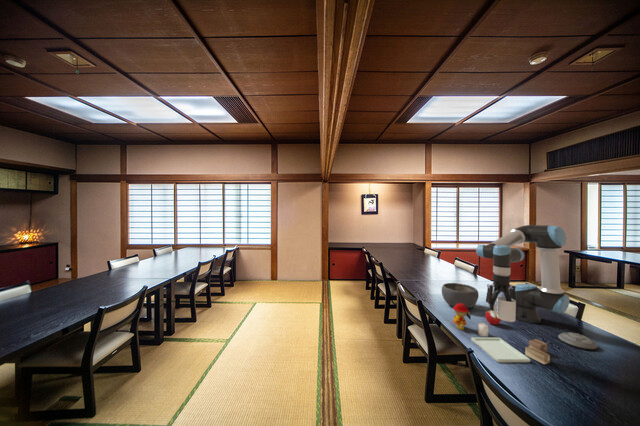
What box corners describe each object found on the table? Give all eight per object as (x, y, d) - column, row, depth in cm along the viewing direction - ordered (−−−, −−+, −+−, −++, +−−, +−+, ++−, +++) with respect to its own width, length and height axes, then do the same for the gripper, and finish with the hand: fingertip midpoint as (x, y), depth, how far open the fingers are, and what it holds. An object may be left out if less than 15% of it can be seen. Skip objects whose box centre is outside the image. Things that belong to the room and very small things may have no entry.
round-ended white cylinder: (484, 332, 144) (484, 322, 144) (490, 337, 139) (490, 326, 139) (476, 332, 144) (476, 322, 144) (481, 337, 139) (481, 326, 139)
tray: (499, 340, 136) (499, 337, 136) (530, 362, 116) (530, 359, 116) (471, 340, 136) (471, 337, 136) (497, 362, 116) (497, 359, 116)
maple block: (530, 353, 123) (530, 346, 123) (549, 363, 116) (549, 354, 116) (525, 355, 122) (525, 347, 122) (544, 364, 114) (544, 356, 114)
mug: (513, 317, 130) (513, 298, 130) (517, 323, 123) (517, 303, 123) (486, 312, 135) (486, 294, 136) (488, 318, 129) (488, 298, 129)
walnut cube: (536, 348, 128) (536, 339, 128) (547, 353, 123) (547, 344, 123) (529, 349, 127) (529, 340, 127) (540, 355, 122) (540, 345, 122)
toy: (472, 332, 144) (472, 307, 144) (456, 331, 146) (456, 306, 146) (465, 324, 155) (465, 301, 155) (450, 322, 157) (450, 299, 157)
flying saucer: (592, 354, 123) (592, 343, 123) (553, 340, 136) (553, 331, 136) (602, 347, 130) (602, 336, 130) (564, 334, 143) (564, 325, 143)
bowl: (478, 304, 189) (478, 285, 189) (478, 315, 168) (478, 294, 168) (443, 298, 202) (443, 280, 202) (439, 308, 181) (440, 288, 181)
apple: (482, 320, 161) (482, 305, 161) (497, 321, 159) (497, 306, 159) (488, 326, 153) (488, 310, 153) (503, 327, 151) (504, 311, 151)
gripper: (514, 272, 133) (514, 314, 133) (477, 272, 133) (477, 313, 133) (526, 276, 125) (525, 320, 125) (487, 275, 125) (486, 319, 125)
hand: (500, 316), depth 129 cm, fingers closed on mug, 7 cm apart
